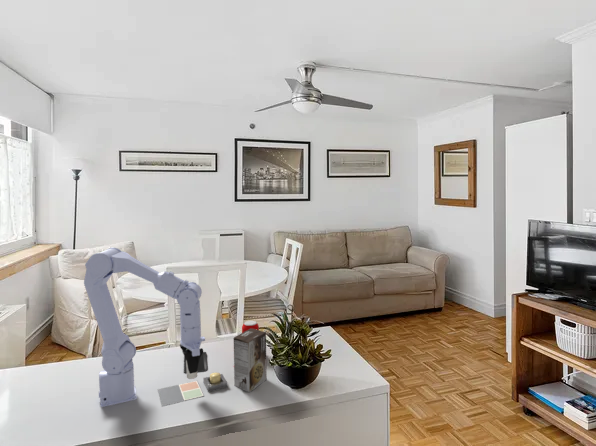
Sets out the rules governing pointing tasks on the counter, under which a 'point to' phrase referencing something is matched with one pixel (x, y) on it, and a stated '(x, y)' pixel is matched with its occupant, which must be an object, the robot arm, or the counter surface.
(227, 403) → the counter surface
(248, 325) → the beverage can
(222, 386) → the button collar
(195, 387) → the picture board
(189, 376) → the marker
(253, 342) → the coffee box
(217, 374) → the button
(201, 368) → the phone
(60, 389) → the counter surface
